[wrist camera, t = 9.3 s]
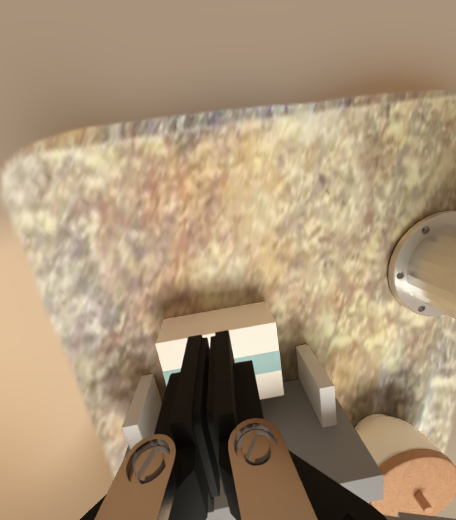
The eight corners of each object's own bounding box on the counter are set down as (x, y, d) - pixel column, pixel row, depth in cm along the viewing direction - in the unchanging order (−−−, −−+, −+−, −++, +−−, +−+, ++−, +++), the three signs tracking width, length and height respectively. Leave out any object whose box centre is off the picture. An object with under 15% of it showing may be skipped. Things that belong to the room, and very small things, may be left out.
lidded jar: (329, 457, 37) (368, 544, 28) (348, 398, 34) (398, 472, 25) (395, 459, 38) (454, 543, 29) (419, 402, 35) (492, 475, 26)
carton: (264, 300, 29) (276, 322, 24) (272, 364, 32) (284, 395, 27) (163, 318, 29) (154, 343, 24) (179, 381, 31) (174, 415, 27)
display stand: (318, 341, 31) (383, 429, 20) (322, 392, 33) (383, 499, 22) (129, 378, 30) (80, 491, 19) (145, 427, 33) (110, 556, 21)
